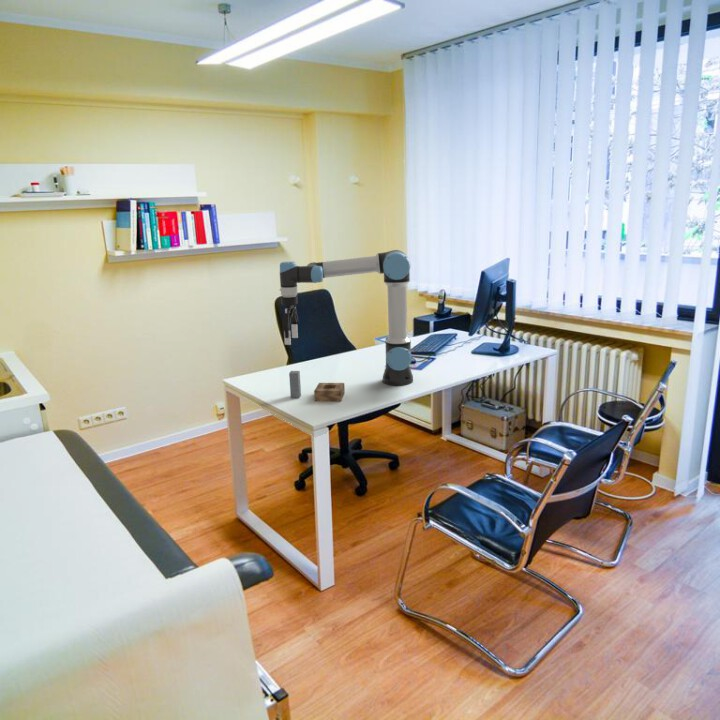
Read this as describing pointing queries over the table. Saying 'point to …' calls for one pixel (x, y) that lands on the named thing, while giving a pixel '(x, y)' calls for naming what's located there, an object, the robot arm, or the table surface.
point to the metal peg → (295, 384)
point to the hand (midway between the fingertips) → (291, 341)
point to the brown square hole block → (329, 392)
